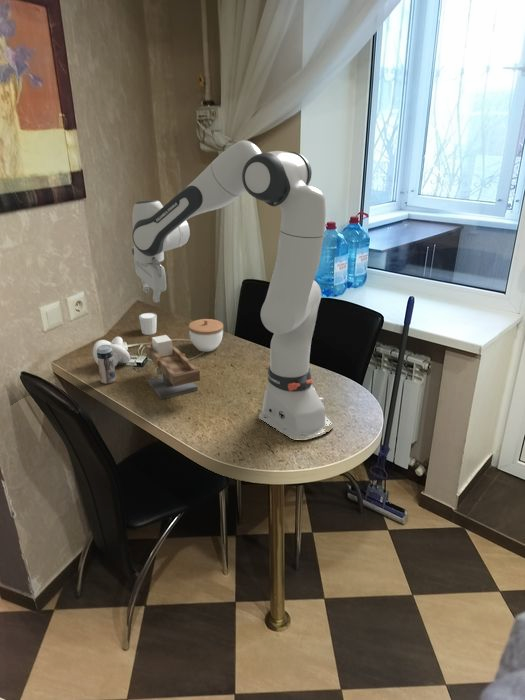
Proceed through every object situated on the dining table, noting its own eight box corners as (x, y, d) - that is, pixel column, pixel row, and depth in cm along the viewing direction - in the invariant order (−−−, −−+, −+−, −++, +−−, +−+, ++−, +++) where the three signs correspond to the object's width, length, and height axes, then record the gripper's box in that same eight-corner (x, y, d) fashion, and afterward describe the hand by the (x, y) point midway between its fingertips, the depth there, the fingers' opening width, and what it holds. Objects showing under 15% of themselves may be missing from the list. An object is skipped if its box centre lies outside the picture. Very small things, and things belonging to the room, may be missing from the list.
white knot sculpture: (103, 376, 164) (100, 351, 160) (88, 363, 172) (84, 339, 169) (134, 366, 171) (132, 342, 167) (118, 354, 179) (115, 331, 175)
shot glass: (152, 327, 203) (151, 311, 200) (161, 332, 198) (159, 316, 195) (137, 331, 199) (135, 314, 196) (145, 336, 194) (144, 320, 191)
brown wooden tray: (206, 399, 152) (205, 369, 148) (169, 409, 147) (167, 378, 142) (175, 366, 172) (174, 338, 167) (141, 374, 166) (139, 345, 162)
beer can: (111, 385, 159) (107, 351, 154) (97, 383, 160) (93, 349, 155) (118, 378, 163) (114, 345, 158) (104, 376, 164) (100, 343, 159)
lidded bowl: (182, 346, 187) (181, 318, 182) (210, 338, 195) (209, 311, 190) (202, 357, 179) (201, 329, 174) (230, 348, 186) (230, 321, 182)
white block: (172, 354, 161) (171, 340, 158) (158, 357, 158) (157, 343, 156) (167, 348, 164) (166, 334, 162) (153, 351, 162) (151, 337, 160)
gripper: (170, 261, 146) (172, 306, 152) (148, 245, 162) (150, 286, 168) (149, 263, 143) (152, 309, 149) (129, 247, 159) (132, 288, 165)
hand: (151, 296), depth 159 cm, fingers open, 8 cm apart
